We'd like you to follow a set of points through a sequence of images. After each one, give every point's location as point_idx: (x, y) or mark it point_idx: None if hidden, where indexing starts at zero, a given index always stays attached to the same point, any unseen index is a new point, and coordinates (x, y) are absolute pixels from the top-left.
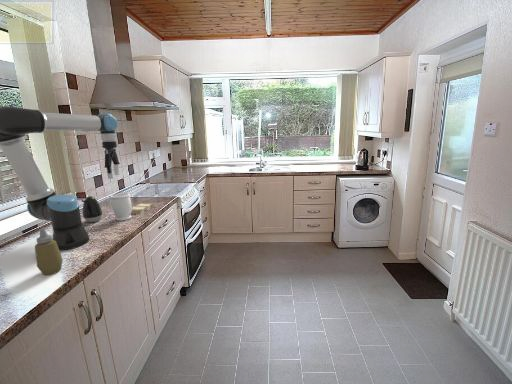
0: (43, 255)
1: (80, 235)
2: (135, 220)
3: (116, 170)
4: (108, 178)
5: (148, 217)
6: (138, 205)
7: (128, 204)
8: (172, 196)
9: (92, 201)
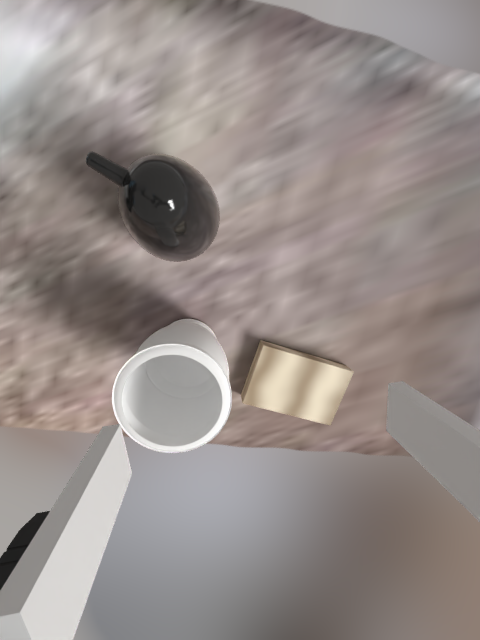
0: None
1: None
2: None
3: (435, 450)
4: (103, 433)
5: None
6: (322, 372)
7: (161, 415)
8: None
9: (132, 226)
